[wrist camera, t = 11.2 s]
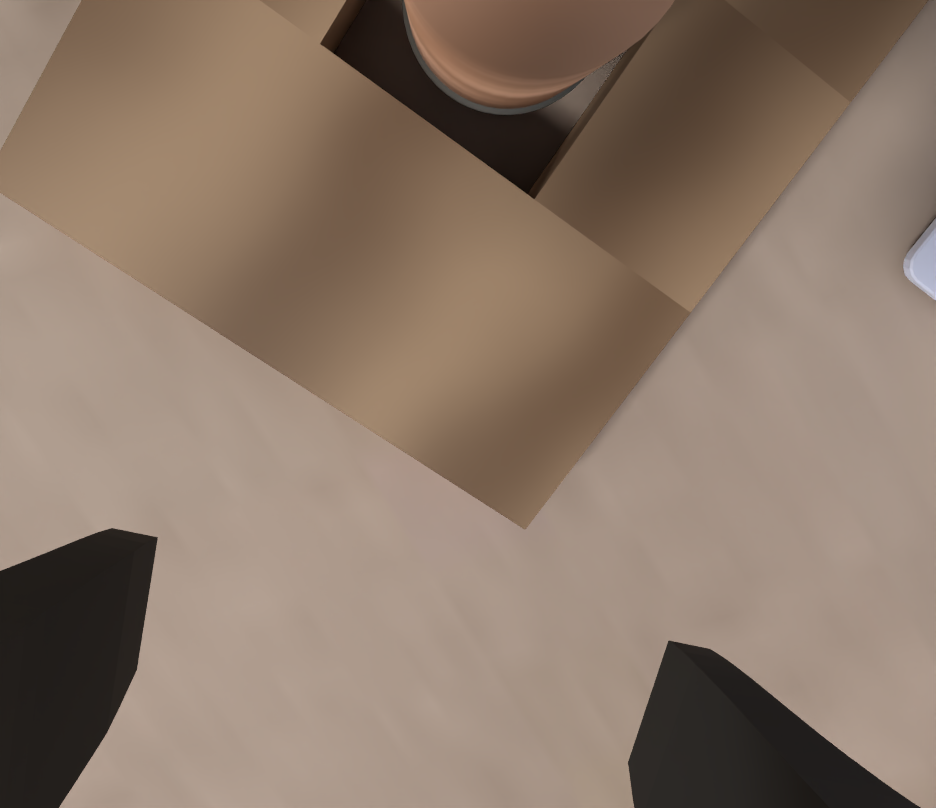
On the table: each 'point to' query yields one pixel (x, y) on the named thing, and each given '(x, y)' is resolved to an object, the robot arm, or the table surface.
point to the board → (432, 208)
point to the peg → (521, 46)
